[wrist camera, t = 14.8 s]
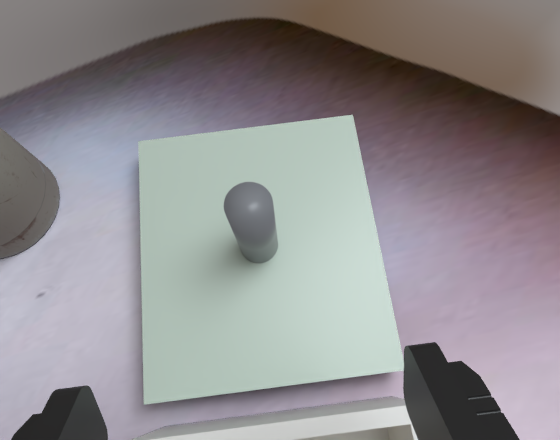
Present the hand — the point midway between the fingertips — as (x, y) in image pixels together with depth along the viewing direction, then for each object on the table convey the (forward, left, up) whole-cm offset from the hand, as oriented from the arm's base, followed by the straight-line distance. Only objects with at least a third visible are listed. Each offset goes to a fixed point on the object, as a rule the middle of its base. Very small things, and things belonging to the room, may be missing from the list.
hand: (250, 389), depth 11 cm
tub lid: (0, -8, -17) cm, 19 cm away
